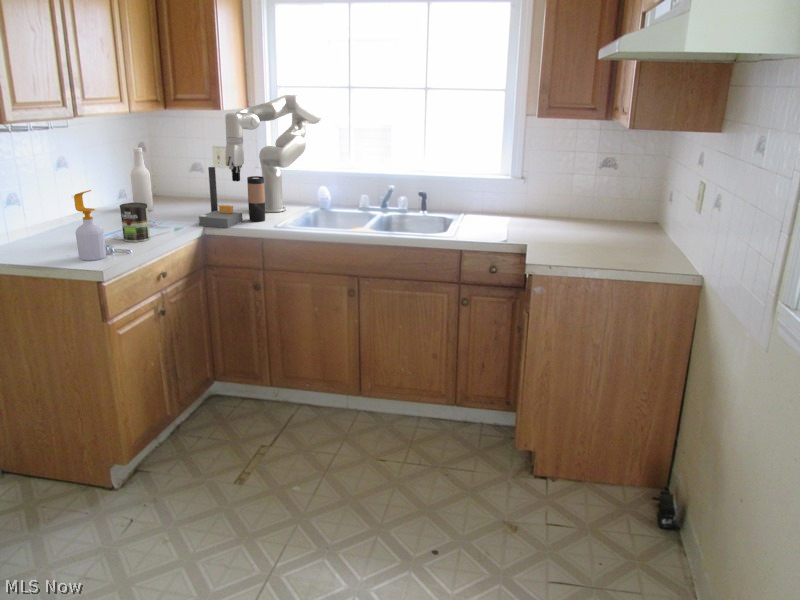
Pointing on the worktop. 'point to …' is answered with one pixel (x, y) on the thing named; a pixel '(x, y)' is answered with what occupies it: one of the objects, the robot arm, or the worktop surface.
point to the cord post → (213, 189)
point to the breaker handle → (225, 209)
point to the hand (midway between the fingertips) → (236, 180)
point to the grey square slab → (220, 219)
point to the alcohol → (141, 181)
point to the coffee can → (135, 222)
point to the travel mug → (256, 198)
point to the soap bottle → (89, 234)
